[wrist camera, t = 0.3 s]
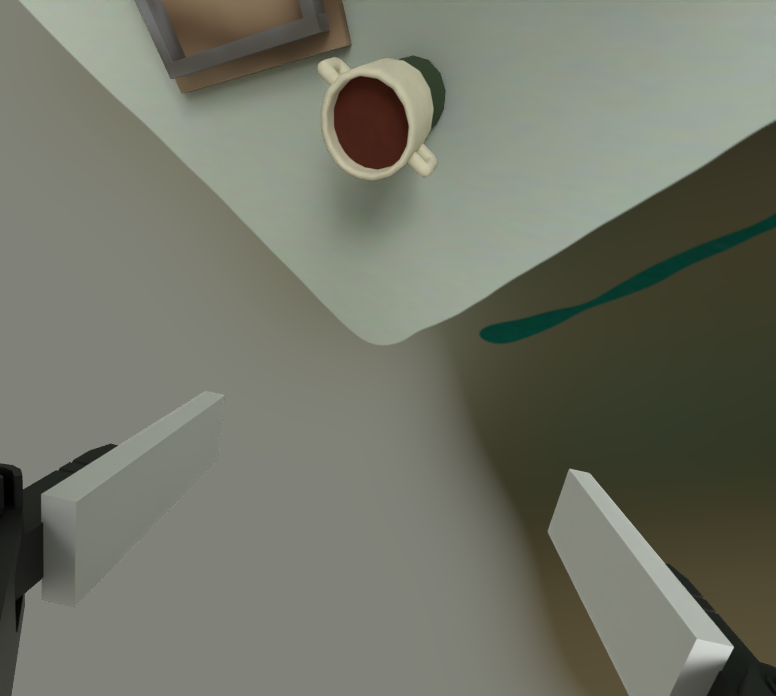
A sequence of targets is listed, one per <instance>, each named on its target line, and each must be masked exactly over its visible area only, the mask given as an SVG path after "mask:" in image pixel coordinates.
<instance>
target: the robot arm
mask: <svg viewBox="0 0 776 696" xmlns="http://www.w3.org/2000/svg"><path fill="white" fill-rule="evenodd" d="M224 402H225V395H223V394H218V393H213V392H209V391H205V392H203V393H201V394H200V395H198V396H196V397H195V398H193V399H192V400H190V401H189V402H187V403H185V404H184V405H182V406H181V407H179V408H178V409H176V410H174V411H173V412H171V413H169V414H168V415H166V416H165V417H163V418H162V419H160V420H158V421H157V422H155V423H154V424H152V425H150V426H149V427H147V428H146V429H144V430H143V431H141V432H139V433H138V434H136V435H134V436H133V437H131V438H130V439H128V440H127V441H125V442H123V443H122V444H120V445H119V446H118V445H114V444H108V445H105V446H102V447H99V448H96V449H93V450H90V451H88V452H86V453H85V454H83V455H81V456H80V457H78V458H76V459H74V460H73V462H72V463H71V462H69V463H68V464H66V465H64V466H62V467H61V468H59V470H58V471H54V472H52V473H51V474H49V475H47V476H45V477H44V478H42V479H40V480H39V481H37V482H35V483H34V484H32V485H30V486H29V487H27V488H25V489H23V486H22V485H23V480H22V472H21V469H19V468H17V467H15V466H13V465H7V464H0V696H11V694H12V688H13V681H14V674H15V667H16V661H17V654H18V647H19V641H20V634H21V627H22V620H23V614H24V607H25V593H26V592H27V591H28V590H29V589H30V588H31V587H33V586H34V585H35V584H36V583H37V582H39V581H40V580H41V579H42V600H44V601H48V602H53V603H57V604H62V605H66V606H70V607H75V606H76V605H77V604H78V603H79V602H80V601H81V600H82V599H83V598H84V597H85V596H86V595H87V594H88V593H89V592H90V591H91V590H92V589H93V588H94V587H95V586H96V585H97V584H98V583H99V582H100V581H101V580H102V579H103V578H104V577H105V576H106V575H107V574H108V573H109V572H110V571H111V570H112V568H113V567H114V566H115V565H116V564H117V563H118V562H119V561H120V560H121V559H122V558H123V557H124V556H125V555H126V554H127V553H128V552H129V551H130V550H131V549H132V548H133V547H134V546H135V545H136V544H137V543H138V542H139V541H140V540H141V539H142V538H143V537H144V536H145V535H146V534H147V533H148V532H149V531H150V529H151V528H152V527H153V526H154V525H155V524H156V523H157V522H158V521H159V520H160V519H161V518H162V517H163V516H164V515H165V514H166V513H167V512H168V511H169V510H170V509H171V508H172V507H173V506H174V505H175V504H176V503H177V502H178V501H179V500H180V499H181V498H182V497H183V495H185V494H186V493H187V491H189V489H190V488H191V487H192V486H193V485H194V484H195V483H196V482H197V481H198V480H199V479H200V478H201V477H202V476H203V475H204V474H205V473H206V472H207V471H208V470H209V469H210V468H211V467H212V466H213V465H214V464H215V463H216V462H217V461H218V456H219V447H220V438H221V429H222V420H223V411H224ZM548 533H549V535H550V538H551V539H552V541H553V544H554V546H555V548H556V550H557V552H558V554H559V556H560V558H561V560H562V562H563V564H564V566H565V568H566V570H567V572H568V574H569V576H570V578H571V580H572V582H573V584H574V586H575V588H576V590H577V592H578V593H579V596H580V598H581V600H582V602H583V604H584V606H585V608H586V610H587V612H588V614H589V616H590V618H591V620H592V622H593V624H594V626H595V628H596V630H597V632H598V634H599V636H600V638H601V640H602V642H603V644H604V646H605V648H606V650H607V652H608V654H609V656H610V658H611V660H612V662H613V664H614V666H615V668H616V670H617V672H618V674H619V676H620V678H621V680H622V682H623V684H624V686H625V688H626V690H627V692H628V694H629V696H776V668H775V667H774V666H771V665H768V664H765V663H762V662H759V661H758V660H757V659H756V657H755V656H754V655H753V654H752V653H751V651H750V650H749V649H748V648H747V647H746V646H745V645H744V643H743V642H742V641H741V640H740V639H739V638H738V636H737V635H736V634H735V633H734V632H733V631H732V630H731V628H730V627H729V626H728V625H727V624H726V623H725V621H724V620H723V619H722V618H721V617H720V616H719V614H716V613H715V610H714V609H713V607H712V606H711V605H710V604H709V603H708V602H707V601H706V600H704V599H703V596H702V595H701V594H700V593H699V591H698V590H697V589H696V588H695V587H694V586H693V584H692V583H691V582H690V581H689V580H688V579H687V578H686V577H684V576H683V575H682V574H680V573H679V572H678V571H677V570H676V569H675V568H673V567H672V566H671V565H670V564H666V563H664V562H663V561H662V560H661V558H660V557H659V556H658V555H657V554H656V552H655V551H654V550H653V549H652V548H651V546H650V545H649V544H648V543H647V542H646V540H645V539H644V538H643V537H642V536H641V534H640V533H639V532H638V531H637V530H636V528H635V527H634V526H633V525H632V524H631V522H630V521H629V520H628V519H627V518H626V516H625V515H624V514H623V513H622V512H621V510H620V509H619V508H618V507H617V506H616V505H615V503H614V502H613V501H612V500H611V498H610V497H609V496H608V495H607V494H606V492H605V491H604V490H603V489H602V488H601V486H600V485H599V484H598V483H597V482H596V480H595V479H594V478H593V477H592V476H591V474H590V473H586V472H581V471H577V470H572V469H569V471H568V474H567V477H566V480H565V483H564V486H563V489H562V491H561V495H560V497H559V500H558V503H557V506H556V509H555V512H554V515H553V518H552V521H551V524H550V527H549V529H548Z"/></svg>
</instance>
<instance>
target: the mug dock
mask: <svg viewBox="0 0 776 696" xmlns="http://www.w3.org/2000/svg"><path fill="white" fill-rule="evenodd" d="M135 2H136V4H137V6H138V9H139V11H140V13H141V15H142V17H143V19H144V22H145V24H146V26H147V28H148V30H149V32H150V35H151V37H152V39H153V41H154V43H155V45H156V48H157V50H158V52H159V54H160V56H161V59H162V61H163V63H164V65H165V67H166V69H167V72H168V74H169V76H170V78H171V79H174V78H175V80H176V82H177V84H178V86H179V88H180V91H181V93H186V92H190V91H193V90H197V89H200V88H204V87H207V86H210V85H214V84H217V83H221V82H224V81H228V80H231V79H235V78H238V77H242V76H245V75H248V74H252V73H255V72H259V71H262V70H266V69H269V68H273V67H276V66H279V65H283V64H286V63H290V62H293V61H297V60H300V59H304V58H307V57H311V56H314V55H317V54H321V53H324V52H328V51H331V50H335V49H338V48H342V47H345V46H348V45H351V40H350V36H349V31H348V27H347V22H346V17H345V13H344V8H343V3H342V0H135Z"/></svg>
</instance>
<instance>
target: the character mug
mask: <svg viewBox="0 0 776 696" xmlns="http://www.w3.org/2000/svg"><path fill="white" fill-rule="evenodd" d="M318 73H319V74H320V75H321V77H322V78H323V79H324V80H325V81H326V82H327V83H328V84H329V85H330V87H329V88H328V89H327V91H326V95H325V98H324V102H323V105H322V108H321V130H322V134H323V137H324V141H325V144H326V147H327V150H328V152H329V153H330V155H331V156H332V158H333V160H334V161H335V162H336V164H337V165H338V166H339V167H340V168H341V169H342V170H344V171H345V172H346V173H348V174H350V175H352V176H354V177H356V178H358V179H364V180H371V181H375V180H379V179H383V178H386V177H390V176H392V175H393V174H394V173H396V172H397V171H398V170H399V169H401V168H402V167H403V166H404V165H405V164H406V163H408V164H409V165H410V166H411V167H412V168H413V169H414V170H415V171H416V172H417V173H418V174H419V175H421V176H422V177H423V178H424V177H428V176H430V175H431V174H432V172H433V171H434V169H435V168H436V166H437V159H436V157H435V156H434V154H433V153H432V152H431V151H430V150H429V149H428V148H427V147H426V146H425V145H424V142H425V140H426V138H427V136H428V134H429V132H430V130H431V128H433V127H434V126H435V125H436V124H437V122H438V120H439V118H440V116H441V114H442V112H443V110H444V101H445V88H444V84H443V81H442V77H441V74H440V72H439V71H438V70H437V69H436V68H435V67H434V66H433V65H432V64H431V62H430V61H429V60H426V59H422V58H419V57H416V56H410V57H406V58H402V59H399V60H396V59H388V58H383V59H380V60H377V61H374V62H371V63H368V64H365V65H362V66H359V67H356V68H354V69H350V68H349V67H348V66H347V65H346V64H345V63H344V62H343V61H342V60H341V59H339V58H336V57H333V58H329V59H325V60H323V61H321V62H320V63H319V64H318Z"/></svg>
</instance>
